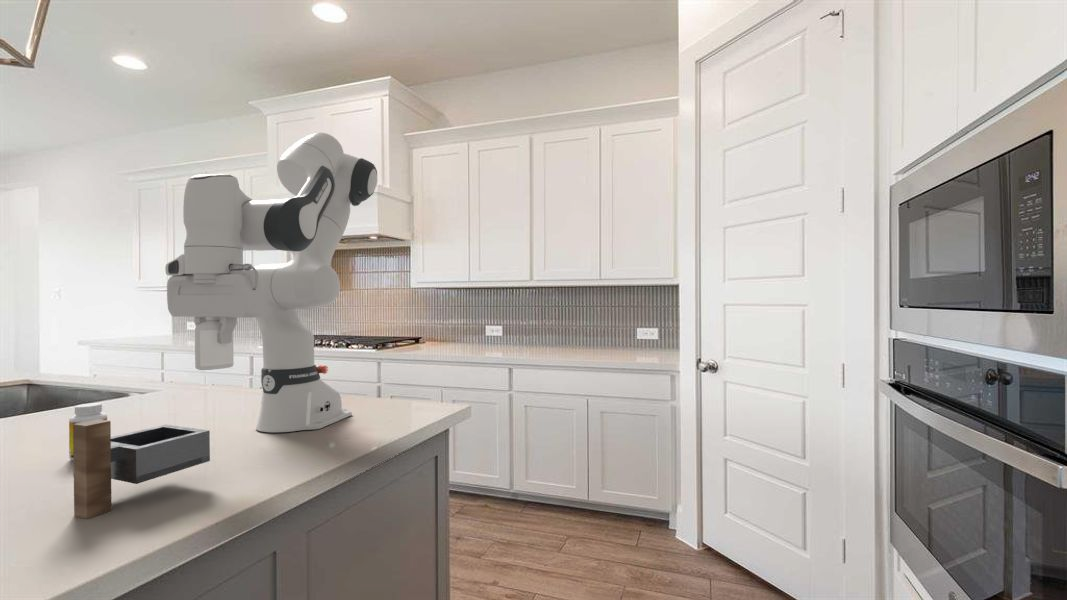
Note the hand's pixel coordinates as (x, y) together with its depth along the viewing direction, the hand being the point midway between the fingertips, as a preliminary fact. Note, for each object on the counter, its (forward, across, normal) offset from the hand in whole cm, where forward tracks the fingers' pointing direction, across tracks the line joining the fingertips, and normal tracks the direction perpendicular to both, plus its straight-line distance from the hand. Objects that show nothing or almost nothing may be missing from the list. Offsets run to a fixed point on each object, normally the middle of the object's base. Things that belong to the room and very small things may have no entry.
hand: (215, 343), depth 89 cm
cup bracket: (+23, 0, +13) cm, 26 cm away
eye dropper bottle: (+5, 0, 0) cm, 5 cm away
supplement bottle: (+23, +31, +4) cm, 39 cm away
